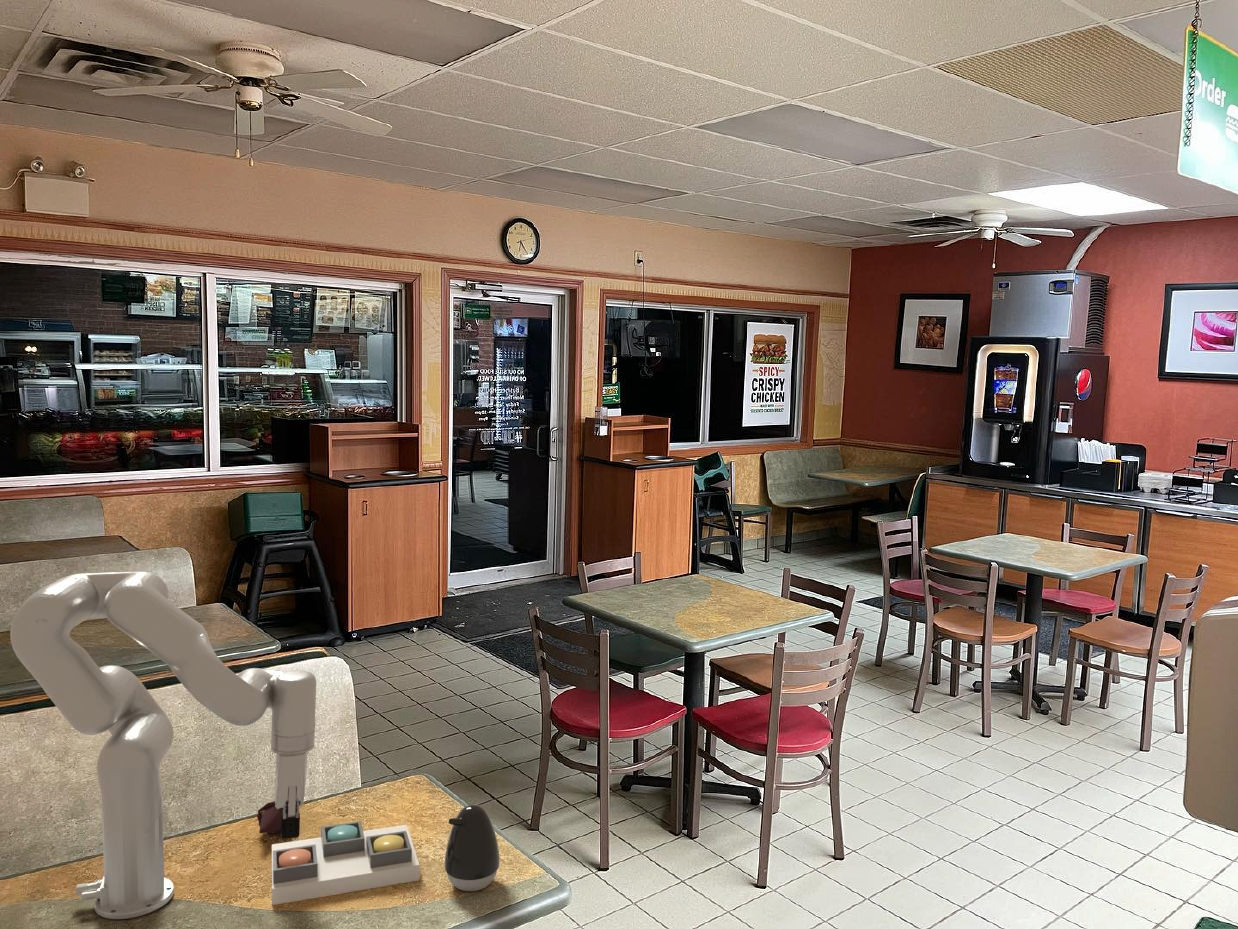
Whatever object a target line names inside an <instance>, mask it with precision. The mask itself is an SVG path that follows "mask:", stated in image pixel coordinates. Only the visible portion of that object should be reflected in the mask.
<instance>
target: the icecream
mask: <svg viewBox="0 0 1238 929" xmlns="http://www.w3.org/2000/svg"><path fill="white" fill-rule="evenodd" d="M282 814H283V808H279V809H277V808H276V807H275V800H274V801H271V802H267V803H266V804H265V805H263V806H261V807H260V808H259V809H258V810H257V816H256V817H257V818H256V819H257V820H258V826H259V834H268V835H269V836H274V835H276V836H281V815H282Z"/></svg>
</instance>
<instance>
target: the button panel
mask: <svg viewBox="0 0 1238 929" xmlns="http://www.w3.org/2000/svg"><path fill="white" fill-rule="evenodd" d="M341 825H351V826H354V827H356V828H357V838H355V839H348V840H341V841H335V842H328V831H329V830H330V829H332V828H334V827H337V826H341ZM320 834H321V836H319V837H314V838H307V839H300V840H293V841H288V842H279V843H273V844H271V892H272V893H271V894H272V895H271V897H272V898H271V899H272V900H271V903H272V904H271V905H272V906H276V905H282V904H287V903H294V902H299V901H305V900H311V899H316V898H322V897H323V898H324V897H329V896H334V895H340V894H346V893H353V892H357V891H358V892H359V891H363V890H370V889H374V888H375V889H376V888H382V887H383V888H384V887H388V886H393V885H398V884H399V883H400V884H406V883H411V882H416V881H420V862H419V859H418V856H417V853H416V850H415V846H414V843H413V840H412V836H411V833H410V830H409V828H408V824H401V825H396V826H388V827H383V828H382V827H381V828H375V829H374V828H373V829H368V830H363V825H362V821H361V820H359V821H352V822H345V823H344V822H343V823H337V824H331V825H324V826H321V827H320ZM386 835H397V836H400V837H402V838H403V839H404V849H398V850H392V851H386V852H379V853H374V841H375V840H376V839H378V838H379V837H382V836H386ZM294 849H305V850H308V851H309V852H310V853H311V863H309V864H303V865H296V866H290V867H284V868H279V857H280V855H281V854H283V853H285V852H287V851H289V850H294Z"/></svg>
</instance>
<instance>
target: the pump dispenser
mask: <svg viewBox="0 0 1238 929" xmlns="http://www.w3.org/2000/svg"><path fill="white" fill-rule="evenodd" d="M448 824H449V825H452V827H451V830H450V833H449V836H448V839H447V840H448V841H447V844H446V850H445V856H444V871H445V872H446V875H447V877H448V880H449V882H450V883H451V884H452V885H453V887H455V888H457V889H459V890H461V891H465V892H475V891H476V892H477V891H481V890H483V889H484V888H486V887H488V886H489V885H490V884H492V882H493V880H494V879H495V877H496V875H497V873H498V872H497V871H498V870H499V868H500V863H501V862H500V851H499V844H498V840H497V834H496V832H495V828H494V826H493V822H492V820H491V818H490V816H489V814H488V812H487V811H486V809H485V808H483V806H481V805H479V804H473V803H472V804H469V805H466V806H464V807H463V808H461V810H460V811H459V812H458V814H457V816H456V817H451V818H449V819H448Z"/></svg>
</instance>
